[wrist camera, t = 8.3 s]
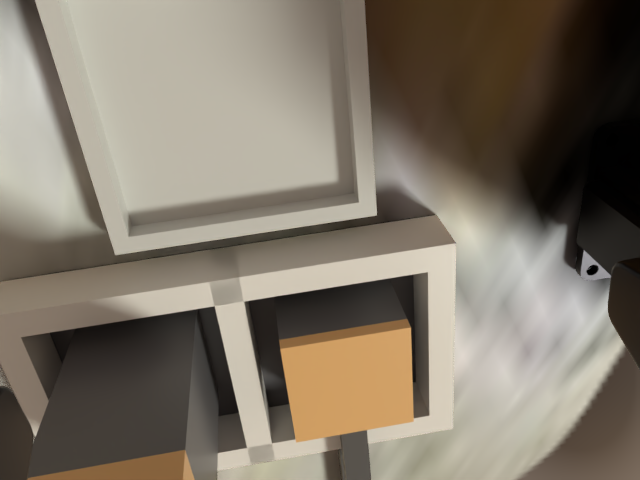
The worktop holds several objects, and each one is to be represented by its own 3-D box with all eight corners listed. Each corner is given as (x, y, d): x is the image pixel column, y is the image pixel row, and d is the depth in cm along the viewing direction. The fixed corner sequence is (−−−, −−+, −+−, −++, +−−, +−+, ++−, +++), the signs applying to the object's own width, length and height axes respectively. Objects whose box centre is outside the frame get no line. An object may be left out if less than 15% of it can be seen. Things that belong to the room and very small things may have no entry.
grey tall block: (196, 304, 23) (183, 479, 16) (218, 392, 25) (215, 579, 18) (76, 325, 22) (8, 511, 15) (110, 411, 24) (63, 608, 18)
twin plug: (387, 273, 23) (410, 327, 20) (397, 481, 29) (417, 546, 26) (273, 291, 23) (280, 349, 20) (307, 497, 29) (317, 566, 26)
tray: (352, -78, 17) (359, -77, 16) (369, 200, 22) (377, 215, 21) (35, -41, 17) (23, -38, 16) (120, 238, 21) (115, 255, 20)
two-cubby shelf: (436, 215, 22) (456, 243, 20) (436, 391, 27) (452, 428, 25) (1, 281, 21) (-22, 318, 19) (76, 454, 26) (64, 498, 24)
